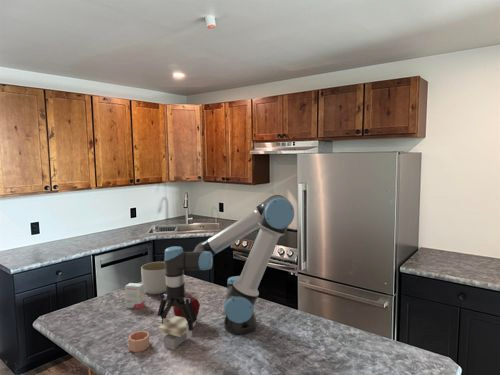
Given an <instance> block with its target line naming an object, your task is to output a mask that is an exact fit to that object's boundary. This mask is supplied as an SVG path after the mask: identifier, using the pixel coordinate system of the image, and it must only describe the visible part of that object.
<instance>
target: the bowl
mask: <svg viewBox="0 0 500 375" xmlns="http://www.w3.org/2000/svg"><path fill="white" fill-rule="evenodd" d="M150 341H151V340H150V332H149V331H146V330H139V331H138V330H137V331H134V332H132V333H130V334H129V335H128V351H130V352H133V353H139V352H143V351H144V352H145V350H147V349H148V348H149V347H150V346H151V345H150Z"/></svg>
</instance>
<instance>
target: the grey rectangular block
mask: <svg viewBox="0 0 500 375" xmlns="http://www.w3.org/2000/svg"><path fill="white" fill-rule="evenodd" d="M185 340H188V339H187V334H186V333H185V334H184V335H182V336H181V337H178V336H174V335H169V334H165V335H164V336H163V347H166V348H168V349H172V350H175V349H176V348H177V347H179V346H180V345H181V344H182V343H183V342H185Z"/></svg>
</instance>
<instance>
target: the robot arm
mask: <svg viewBox="0 0 500 375" xmlns="http://www.w3.org/2000/svg"><path fill="white" fill-rule="evenodd" d="M294 218H295V209H294V205H293V204H292V202H291V201H290V200H288V198H286V197H285V196H284V195H280V194H274V195H273V194H272V195H271V196H269V197H268V198H266V199H265V200H263V202H261V203H260V204H258V205H257V206H255V209H254V210H253V211H251V212H250V213H248V214H247V215H245V216H243V217H241V218H240V219H238V220H237V221H235V222H234V223H232V224H231V225H229V226H227V227H225V228H224V229H222V230H220V231H219V232H218V233H216V234H214V235H212V236H211V237H209V238H208V239H206V240H204V241H201V242H200V243H198V244H196V246H195V248H194V250H193V251H184V250H183V249H184V248H183V247H182V246H176V245H175V246H170V247H166V249H164V260H163V262H165V273H166V285H167V286H166V292H164V293H162V294H161V295H160V303H159V307H158V311H157V316H158V317H160V318H161V325H162V324H164V323H165V322H166V321H168V320H169V319H170V317H169V312H170V311H171V309H172V308H173V307H174V306H175V307H178V308H179V309H180V310H181V312H182V313H183V315H184V317H185V319H186V321H187V323H186V334H187V339H186V340H189V339H190V338H191V337H192V336H193V329H194V326H193V323H194V322H195V321H196V322H197V319H198V317H197V318H196V315H195V312H194V309H193V306H192V303H191V297H189V298H185V292H186V290H185V288H186V287H185V271H206V270H211V269H212V267H213V257H214V256H215V255H217V254H218V253H220V252H222V251H223V250H225V249H226V248H228V247H230V246H232V245H233V244H235V243H236V242H238V241H239V240H241V239H243V238H245V237H247V236H248V235H250V234H251V233H252V232H255V230H257V229H259V230H258V232H257V234H256V237H255V240H254V242H253V244H252V247H251V249H250V252H249V254H248V256H247V259H246V260H245V263H244V266H243V269H242V271H241V273H240V275H236V276H230V277H228V278H227V283H226V284H227V285H226V286H227V290H226V291H227V293H226V297H225V303H224V305H223V307H224V308H223V309H224V314H225V317H224V322H223V327H224V330H225V331H226V332H228V333H229V334H234V335H244V334H245V335H246V334H250V333H253V332H254V331H255V330H256V329H257V327H258V322H257V318H256V314H255V312H254V310H255V309H254V307H255V304H256V303H257V302H256V301H257V299H258V298H259V294H260V292H259V290H258V288H259V286H260V283H261V280H262V279H263V276H264V274H265V271H266V269H267V266H268V264H269V263H270V261H271V260H270V259H271V257H272V255H273V253H274V250H275V248H276V246H277V243H278V241H279V238H280V237H282V236H285V234H286V233H287V230H288V227H289V226H290V225H291V224H292V222H293V221H294ZM167 301H168V302H167ZM184 301H185V302H184ZM181 305H183V306H181ZM163 334H164V335H166V334H165V333H163Z"/></svg>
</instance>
